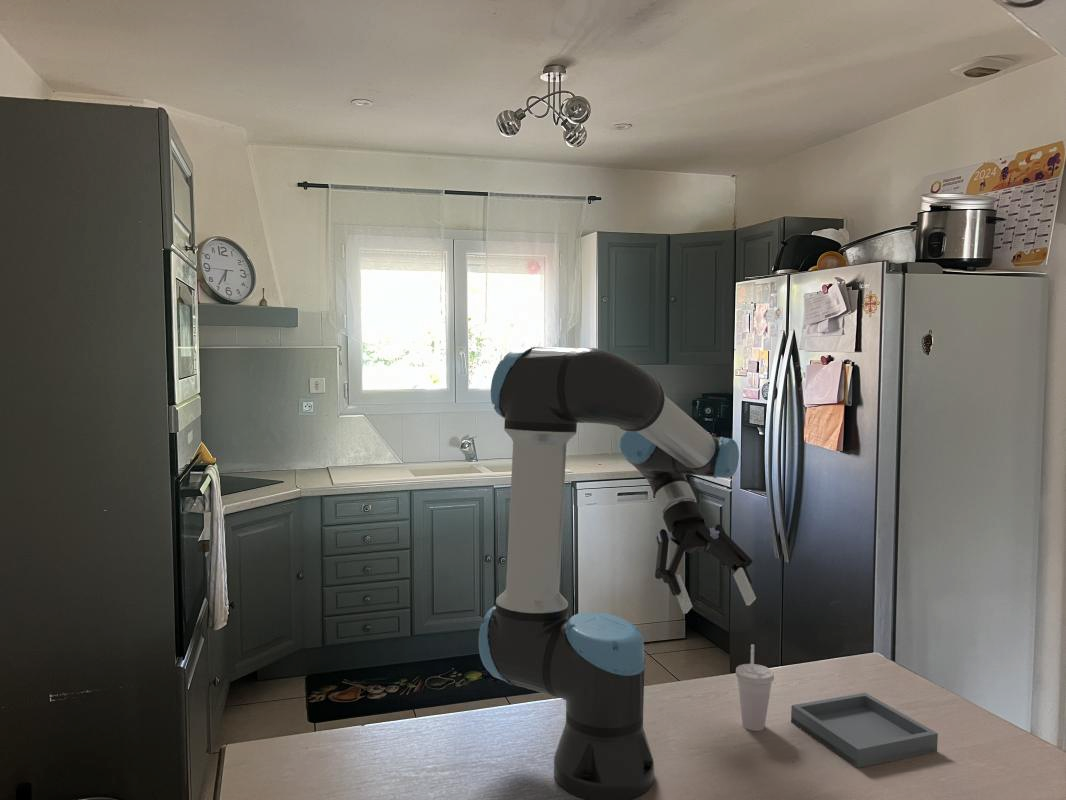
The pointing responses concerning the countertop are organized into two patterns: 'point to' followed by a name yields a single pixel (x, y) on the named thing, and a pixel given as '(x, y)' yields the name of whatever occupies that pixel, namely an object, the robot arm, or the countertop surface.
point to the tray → (863, 729)
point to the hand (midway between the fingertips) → (720, 606)
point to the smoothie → (754, 693)
